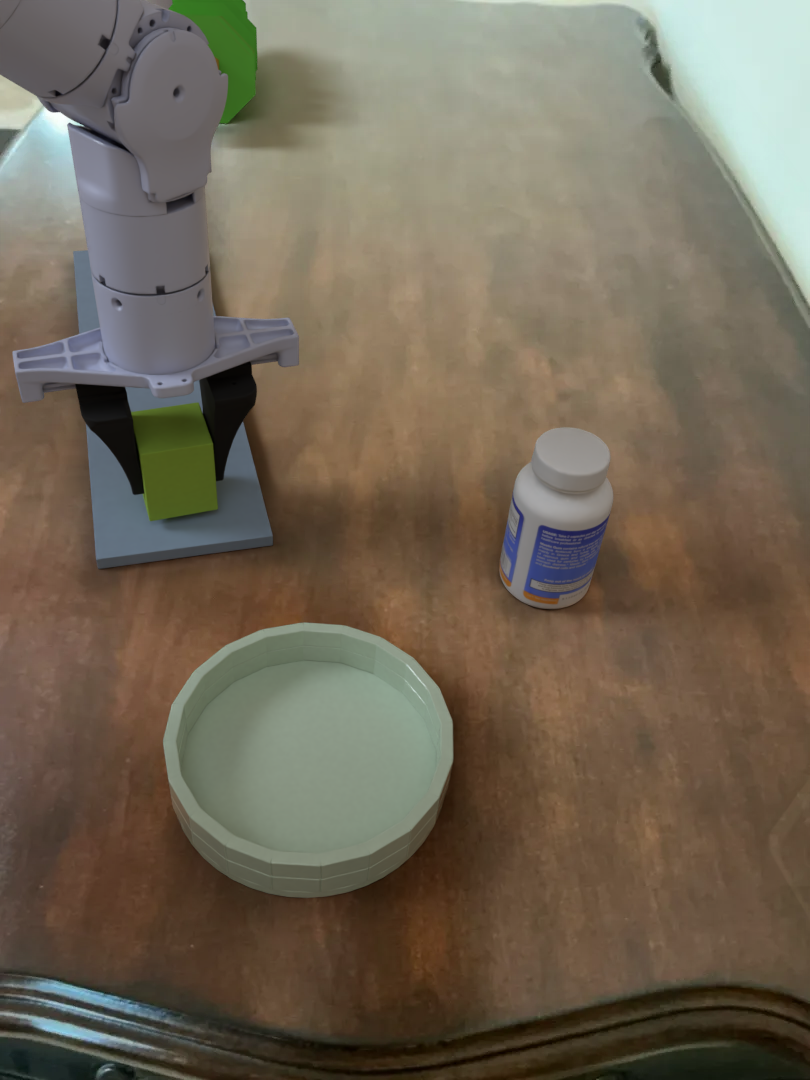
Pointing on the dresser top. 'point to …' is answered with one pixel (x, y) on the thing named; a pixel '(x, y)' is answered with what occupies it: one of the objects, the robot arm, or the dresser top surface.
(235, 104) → the decorative tree
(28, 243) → the dresser top surface
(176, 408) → the cube
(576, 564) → the pill bottle
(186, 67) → the robot arm
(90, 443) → the mat
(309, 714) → the basin
